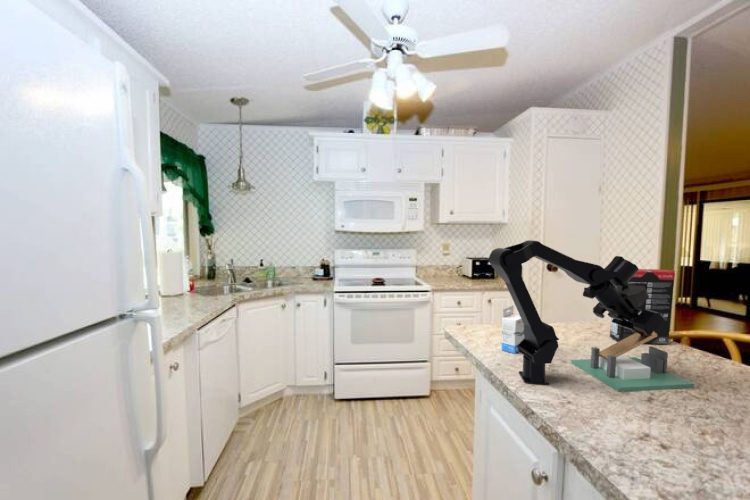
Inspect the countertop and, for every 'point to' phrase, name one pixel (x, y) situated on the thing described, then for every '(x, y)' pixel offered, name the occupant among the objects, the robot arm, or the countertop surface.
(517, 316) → the ink box
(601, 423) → the countertop surface
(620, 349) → the strip
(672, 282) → the graphics card box
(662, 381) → the socket board
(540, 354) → the robot arm
